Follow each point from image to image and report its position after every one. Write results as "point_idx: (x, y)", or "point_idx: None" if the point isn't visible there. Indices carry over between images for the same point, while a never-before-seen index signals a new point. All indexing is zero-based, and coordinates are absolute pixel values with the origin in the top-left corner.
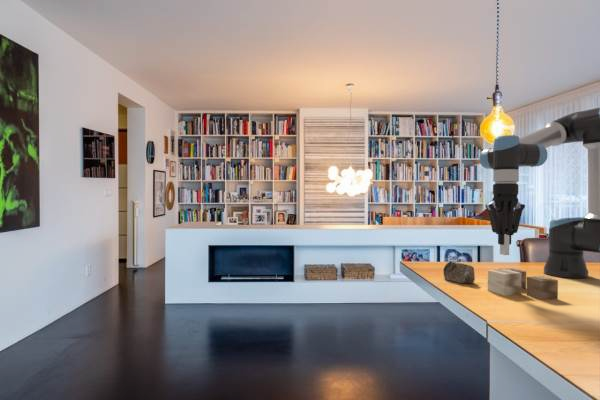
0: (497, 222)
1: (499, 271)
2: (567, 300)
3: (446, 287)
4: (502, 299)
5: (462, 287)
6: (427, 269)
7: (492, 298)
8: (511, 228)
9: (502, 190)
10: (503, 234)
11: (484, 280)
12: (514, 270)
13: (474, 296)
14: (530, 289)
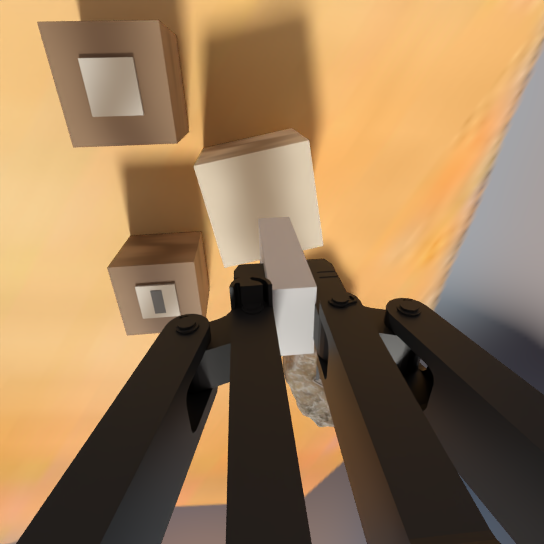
0: (486, 386)
1: (287, 213)
2: (44, 4)
3: (419, 267)
4: (340, 64)
5: (364, 265)
6: (317, 474)
7: (370, 87)
8: (243, 344)
9: None
10: (335, 294)
11: None
12: (158, 284)
13: (417, 128)
14: (181, 107)
